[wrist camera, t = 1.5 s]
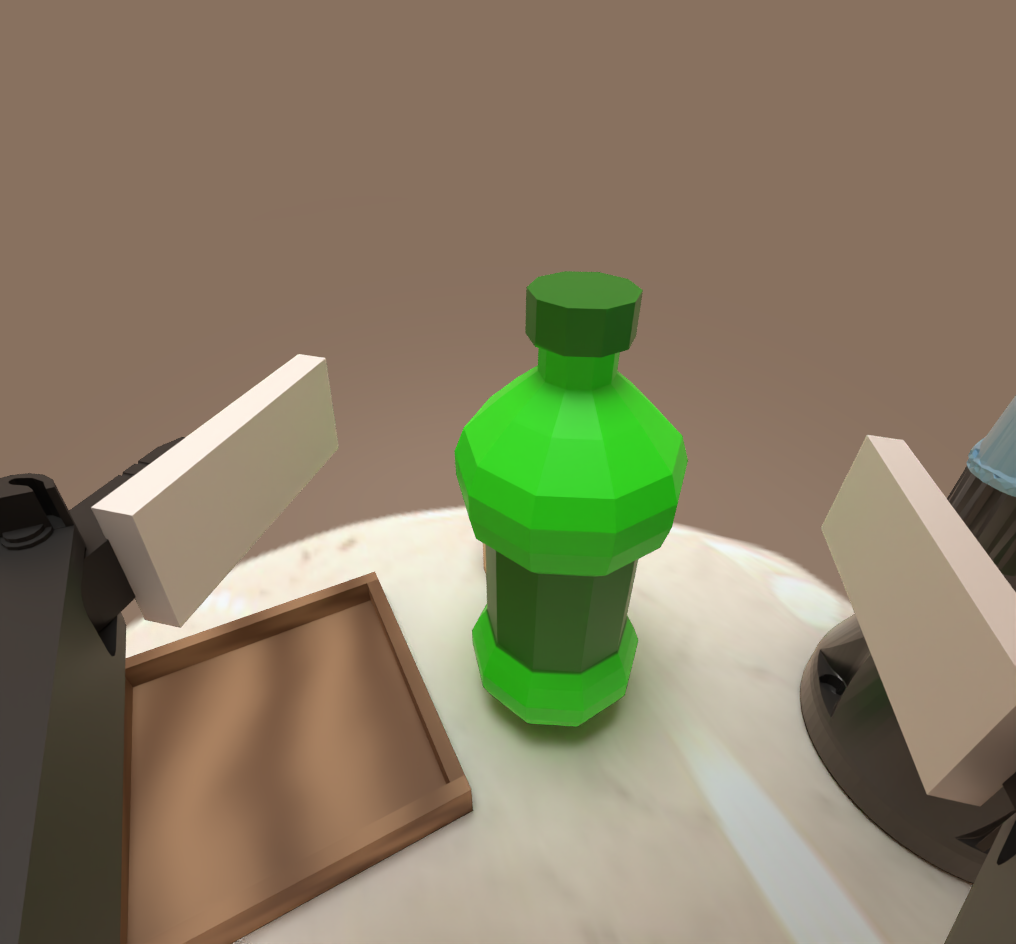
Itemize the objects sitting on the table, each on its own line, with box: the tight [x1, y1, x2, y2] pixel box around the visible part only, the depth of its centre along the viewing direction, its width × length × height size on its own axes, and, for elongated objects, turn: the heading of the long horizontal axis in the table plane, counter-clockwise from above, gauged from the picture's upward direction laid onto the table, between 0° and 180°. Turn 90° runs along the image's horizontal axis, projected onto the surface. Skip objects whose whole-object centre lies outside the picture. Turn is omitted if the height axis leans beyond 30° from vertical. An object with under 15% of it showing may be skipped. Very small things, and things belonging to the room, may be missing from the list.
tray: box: [120, 572, 473, 944], centre depth 31 cm, size 17×17×2 cm
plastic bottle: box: [455, 272, 688, 727], centre depth 28 cm, size 10×10×25 cm
